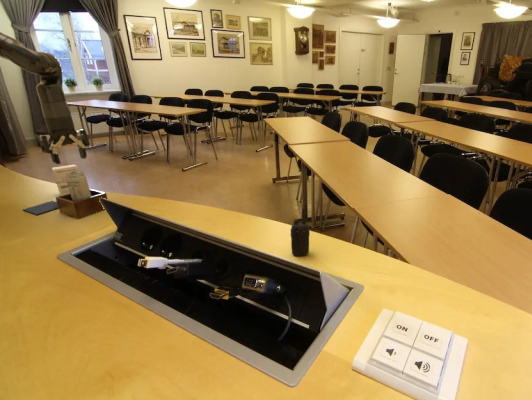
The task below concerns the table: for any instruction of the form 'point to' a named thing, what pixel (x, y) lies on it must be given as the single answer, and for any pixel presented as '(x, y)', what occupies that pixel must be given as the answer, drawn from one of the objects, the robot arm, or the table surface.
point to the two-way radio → (300, 236)
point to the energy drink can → (78, 185)
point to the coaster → (42, 208)
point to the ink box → (63, 177)
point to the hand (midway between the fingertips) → (71, 161)
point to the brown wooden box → (80, 204)
